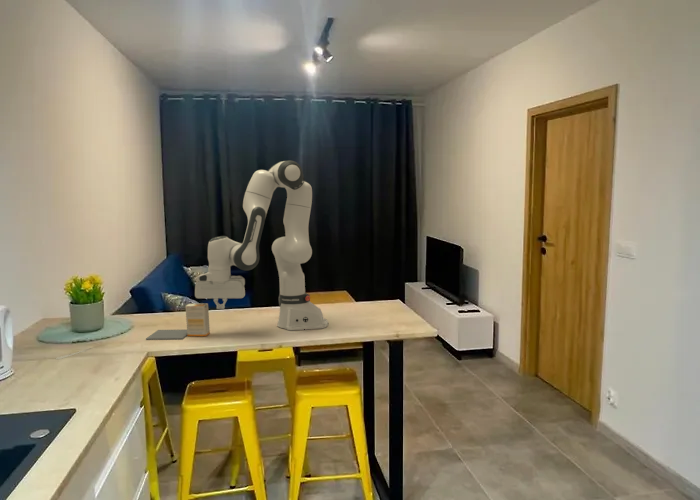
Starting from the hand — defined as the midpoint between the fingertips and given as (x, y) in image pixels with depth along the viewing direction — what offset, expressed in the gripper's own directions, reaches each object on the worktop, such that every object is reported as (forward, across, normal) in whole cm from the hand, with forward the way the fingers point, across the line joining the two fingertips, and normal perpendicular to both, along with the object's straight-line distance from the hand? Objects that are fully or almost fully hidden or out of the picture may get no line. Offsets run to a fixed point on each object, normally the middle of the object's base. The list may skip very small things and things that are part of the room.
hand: (220, 308), depth 214 cm
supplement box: (+11, +10, 0) cm, 15 cm away
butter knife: (+12, +47, +19) cm, 52 cm away
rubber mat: (+11, +22, 0) cm, 24 cm away
